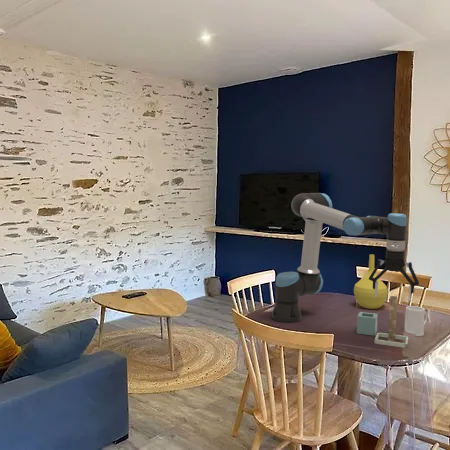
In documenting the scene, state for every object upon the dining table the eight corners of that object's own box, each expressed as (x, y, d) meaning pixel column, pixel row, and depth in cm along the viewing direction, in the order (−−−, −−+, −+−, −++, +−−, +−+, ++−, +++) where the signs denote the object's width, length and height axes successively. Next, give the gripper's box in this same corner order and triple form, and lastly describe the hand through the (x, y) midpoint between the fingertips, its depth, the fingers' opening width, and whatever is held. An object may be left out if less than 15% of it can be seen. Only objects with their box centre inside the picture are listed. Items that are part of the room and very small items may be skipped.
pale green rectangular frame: (374, 345, 197) (374, 339, 197) (377, 337, 207) (377, 332, 207) (406, 350, 192) (407, 344, 192) (408, 342, 202) (408, 336, 202)
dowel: (387, 342, 199) (389, 297, 197) (388, 340, 201) (390, 295, 200) (394, 343, 198) (396, 297, 196) (395, 341, 200) (397, 296, 198)
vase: (347, 303, 267) (348, 252, 264) (374, 301, 272) (375, 251, 270) (365, 312, 249) (367, 257, 247) (394, 309, 255) (396, 256, 252)
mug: (420, 329, 221) (422, 304, 220) (433, 334, 213) (435, 309, 211) (400, 331, 217) (401, 306, 216) (412, 337, 209) (414, 311, 208)
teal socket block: (356, 335, 211) (357, 316, 210) (359, 330, 218) (359, 311, 217) (374, 337, 207) (375, 318, 207) (376, 332, 215) (377, 313, 214)
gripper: (363, 248, 198) (361, 296, 200) (427, 253, 188) (423, 304, 190) (366, 246, 205) (363, 292, 207) (427, 251, 194) (424, 300, 197)
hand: (392, 298), depth 198 cm, fingers open, 13 cm apart
